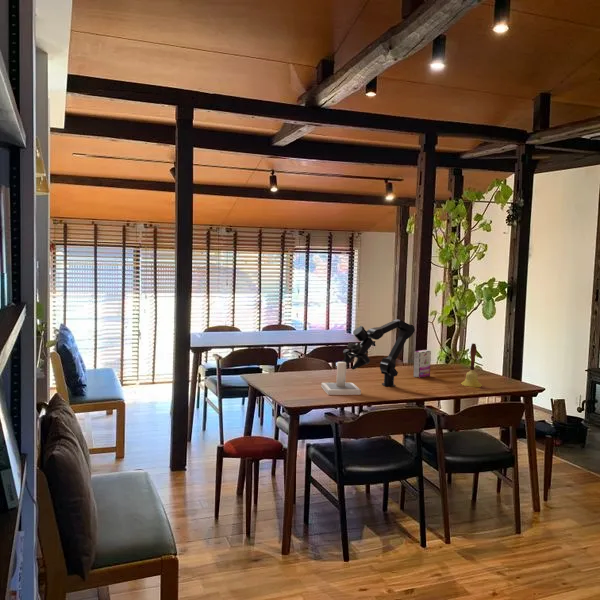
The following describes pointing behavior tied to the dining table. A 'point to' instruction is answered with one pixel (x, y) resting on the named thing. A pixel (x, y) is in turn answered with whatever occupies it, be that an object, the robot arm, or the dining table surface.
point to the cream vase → (341, 374)
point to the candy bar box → (422, 363)
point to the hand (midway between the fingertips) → (347, 367)
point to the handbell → (472, 371)
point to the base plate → (341, 389)
